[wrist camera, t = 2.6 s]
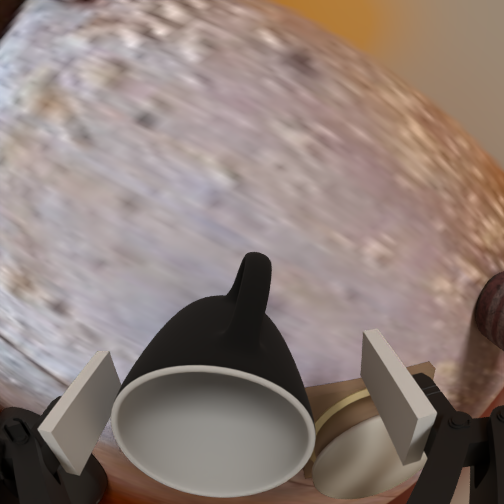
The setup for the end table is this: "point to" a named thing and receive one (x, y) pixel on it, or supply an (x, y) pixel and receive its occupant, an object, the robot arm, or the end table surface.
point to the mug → (218, 397)
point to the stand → (354, 442)
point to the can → (492, 310)
